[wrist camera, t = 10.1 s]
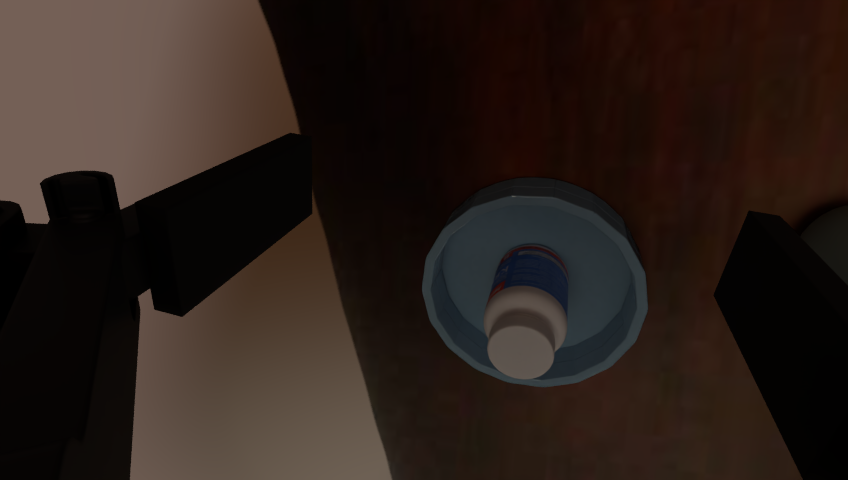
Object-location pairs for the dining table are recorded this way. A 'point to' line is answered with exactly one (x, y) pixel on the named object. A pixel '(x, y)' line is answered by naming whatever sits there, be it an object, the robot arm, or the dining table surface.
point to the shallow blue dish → (572, 241)
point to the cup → (830, 239)
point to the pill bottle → (527, 311)
